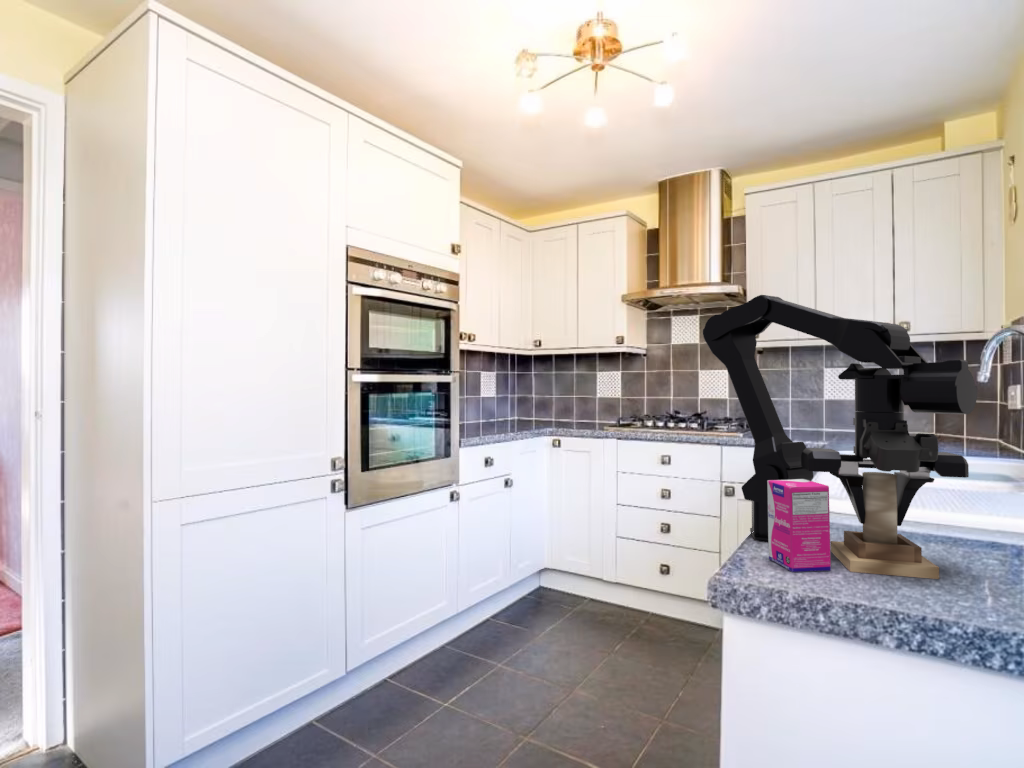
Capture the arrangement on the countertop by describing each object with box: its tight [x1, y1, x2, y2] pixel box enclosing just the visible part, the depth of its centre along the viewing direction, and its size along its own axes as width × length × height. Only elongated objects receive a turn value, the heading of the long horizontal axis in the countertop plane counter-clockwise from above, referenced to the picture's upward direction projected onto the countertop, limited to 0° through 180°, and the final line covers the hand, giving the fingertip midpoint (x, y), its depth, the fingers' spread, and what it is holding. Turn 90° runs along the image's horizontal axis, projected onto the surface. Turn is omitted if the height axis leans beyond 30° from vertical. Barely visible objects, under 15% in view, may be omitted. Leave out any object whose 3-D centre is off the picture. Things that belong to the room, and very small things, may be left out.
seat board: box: [830, 530, 940, 580], centre depth 77 cm, size 10×10×4 cm
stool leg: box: [861, 471, 898, 545], centre depth 77 cm, size 4×4×10 cm
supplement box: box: [767, 479, 832, 573], centre depth 76 cm, size 6×6×12 cm
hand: (879, 524), depth 77 cm, fingers closed on stool leg, 4 cm apart
